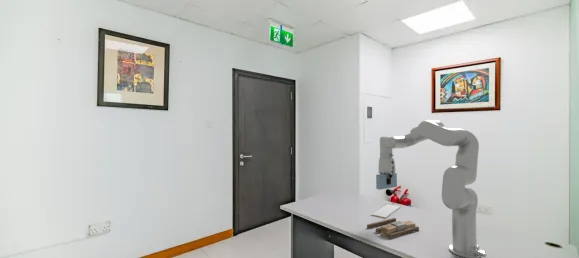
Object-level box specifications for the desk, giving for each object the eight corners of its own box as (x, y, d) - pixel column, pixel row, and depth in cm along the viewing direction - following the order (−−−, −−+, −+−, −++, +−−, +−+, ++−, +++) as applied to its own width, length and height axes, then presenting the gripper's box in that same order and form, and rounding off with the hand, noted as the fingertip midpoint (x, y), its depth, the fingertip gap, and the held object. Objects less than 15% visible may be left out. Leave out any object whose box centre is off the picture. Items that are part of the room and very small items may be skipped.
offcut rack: (418, 230, 144) (418, 226, 144) (390, 238, 133) (390, 235, 133) (394, 220, 159) (394, 217, 159) (367, 227, 149) (367, 224, 149)
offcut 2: (406, 232, 142) (406, 223, 142) (397, 234, 139) (397, 225, 139) (399, 229, 146) (399, 220, 146) (390, 231, 143) (390, 222, 143)
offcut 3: (415, 230, 145) (415, 223, 145) (406, 231, 143) (406, 224, 143) (409, 227, 150) (408, 220, 150) (399, 228, 147) (399, 221, 147)
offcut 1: (396, 234, 139) (396, 226, 139) (389, 237, 135) (388, 229, 135) (388, 231, 143) (388, 224, 143) (381, 234, 139) (381, 226, 139)
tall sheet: (396, 186, 160) (396, 173, 160) (379, 189, 152) (379, 175, 153) (393, 186, 162) (393, 172, 162) (376, 188, 155) (376, 174, 155)
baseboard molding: (368, 215, 172) (385, 219, 164) (368, 211, 172) (385, 215, 164) (384, 205, 195) (400, 208, 187) (384, 201, 195) (400, 204, 187)
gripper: (400, 156, 152) (401, 185, 152) (380, 154, 166) (381, 181, 166) (392, 156, 149) (393, 187, 148) (372, 154, 163) (373, 182, 163)
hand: (386, 183), depth 157 cm, fingers closed on tall sheet, 2 cm apart
